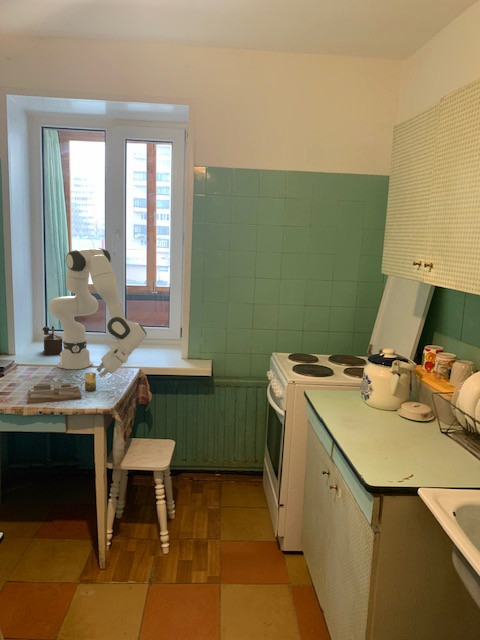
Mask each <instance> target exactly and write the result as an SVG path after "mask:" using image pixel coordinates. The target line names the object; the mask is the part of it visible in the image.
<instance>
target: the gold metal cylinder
mask: <svg viewBox="0 0 480 640" xmlns="http://www.w3.org/2000/svg"><path fill="white" fill-rule="evenodd" d="M84 391H85V392H87V393H94V392H96V391H97V373H96V372H92V371H91V372H85V373H84Z"/></svg>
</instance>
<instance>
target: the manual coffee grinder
mask: <svg viewBox="0 0 480 640" xmlns="http://www.w3.org/2000/svg"><path fill="white" fill-rule="evenodd" d="M50 330H51V333H50V332H49V331H50ZM42 331H43V335H44V336H43V351H42V353H43V355H44V356H58V355H59V356H60V353H61V352H62V351H63V337H62V336H61V335H57V334H55V326H53V325H52V326H51V329H50V327H49V326H44V327H43V328H42Z"/></svg>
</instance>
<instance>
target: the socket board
mask: <svg viewBox="0 0 480 640" xmlns="http://www.w3.org/2000/svg"><path fill="white" fill-rule="evenodd" d="M57 386H58V387H55V388H54V383H49V384H35V385H30V389H28V390H27V402H26V403H27V404H28V405H29V404H38V403H40V404H41V403H51V402H61V401H62V402H63V401H72V400H73V401H75V400H81V399H82V395H81V389H80V386H78V385H77V386H75V385H74V383H62V384H61V383H60V384H58V385H57Z"/></svg>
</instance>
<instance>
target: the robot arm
mask: <svg viewBox="0 0 480 640" xmlns="http://www.w3.org/2000/svg"><path fill="white" fill-rule="evenodd" d="M111 261H112V259H111V254H110V252H109V251H108V250H107V249H105V248H102V247H98V248H95V247H92V248H91V247H90V248H88V247H87V248H82V249H81V248H80V249H73V250H71V251H69V252H67V254H66V257H65V262H66V266H67V269H66V279H65V286H66V289H67V291H70V292H71V293H73V294H75V295H69V296H68V295H66V296H58V297H54V298H52V299H50V302H49V304H48V309H49V312H50V313H51V315H52V316H53V317H55V318H56V319H57V320H58V321H59V322H60V324H61V326H62V328H63V330H62V331H63V339H64V340H63V341H62V348H63V349H62V352H61V353H60V355H59V358H60V360H59V362H58V363H57V366H56V367H57V368H62V369H67V370H81V369H82V370H83V369H85V368H88V367H91V366H94V363H93V362H92V361H91V360H90V358H91V357H90V355H91V353H90V350H89V349H88V348H87V344H88V343H87V340H86V327H85V325H84V324H82V323H80V322H79V321H76V320H75V317H80V316H81V317H83V316H90V315H93V314H96V313H97V311H98V310H99V301H98V300H97V298H96V297H95V296H93V295H92V294H91V292H90V290H89V282H90V279H91V282H92V285H93V287H94V289H95V291H96V294H98V295H99V297H100V298H101V299H102V300H103V301H104V302H105V304H106V306H107V309H108V311H109V315H110V317H111V319H109V321H108V322H107V326H106V327H107V331H108V333H109V334H110V335H111V336H112V337H114V339H116V340H117V341H116V342H115V343H114V344H113V345H112V347H110V349H109V351H107V352H106V353H105V354H104V355H103V356H102V357H101V358H100V360H101V363H100V364H99V366H98V367H97V368H96V371H97V372H98V373H99V374H98V376H99V377H100V378H101V379H102V378H103V377H104V376H106V375H108V373H109V374H114V373H115V372H117V370H118V369H119V368H121V366H122V365H123V364H126V363H127V362H128V359H129V357H130V356H131V355H132V354H133V352H134V351H135V350H136V349H138V348H139V347H140V345H142V343H143V342H144V341H145V340H146V338H147V335H148V334H147V332H146V330H145V328H144V327H143V325H142V324H141V323H138V322H133V321H130V320H128V319H127V318H126V317H125V313H124V310H123V308H122V304H121V301H120V298H119V290H118V284H117V280H116V279H117V278H116V276H115V272H114V270H113V267H112V265H111ZM103 368H104V369H103ZM102 369H103V370H102Z"/></svg>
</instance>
